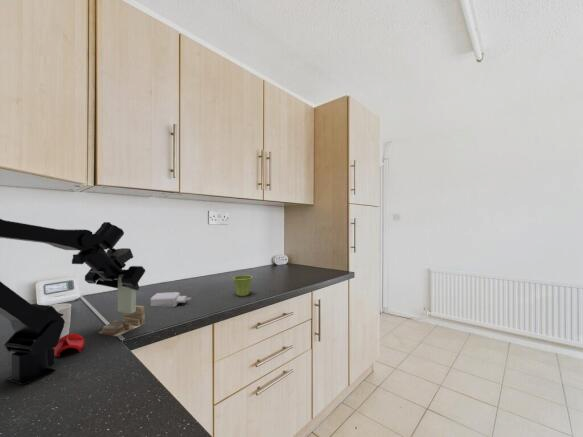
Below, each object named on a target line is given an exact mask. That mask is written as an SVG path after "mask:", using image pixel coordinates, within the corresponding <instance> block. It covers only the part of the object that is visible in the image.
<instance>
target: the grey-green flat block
mask: <svg viewBox="0 0 583 437" xmlns="http://www.w3.org/2000/svg"><path fill="white" fill-rule="evenodd" d="M128 269H129V268H128ZM128 269H126V268H122V270H128ZM121 278H122V277H119V278H118V289H117V312H119V313H123V314H124V313H134V312H136V305H137V290H133V289H130V288H126V287H123V286H122V285H123V283H121Z"/></svg>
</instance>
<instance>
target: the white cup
mask: <svg viewBox="0 0 583 437" xmlns="http://www.w3.org/2000/svg"><path fill="white" fill-rule="evenodd" d="M48 306H52V307H53V308H55V310H56V311H57V312H58V313H60V314H63V316H61V317H62V318H63V319H64V321H65V323H64V328H63V330H62V332H61V335H60V338H59V339H61V338H62V337H64V336H66V335H69V334H70V326H71V317H72V316H71V315H72V314H71V312H72V304H71V303H57V304H55V303H54V304H51V305H49V304H48Z"/></svg>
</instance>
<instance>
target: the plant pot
mask: <svg viewBox="0 0 583 437" xmlns="http://www.w3.org/2000/svg"><path fill="white" fill-rule="evenodd" d="M232 279H233V280H234V285H235V294H236V296H240V297H247V296H248V295H250V290H251V283H252V279H253V276H252V275H248V274H247V275H246V274H244V275H243V274H242V275H235V276H233V277H232Z"/></svg>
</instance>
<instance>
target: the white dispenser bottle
mask: <svg viewBox="0 0 583 437" xmlns="http://www.w3.org/2000/svg"><path fill="white" fill-rule="evenodd" d="M191 299H192V297H188V296H187V295H181V292H177V291H174V292H156V293H155V294H154V295H153V296H152V297H150V307H163V308H164V307H165V308H175V307H177V305H179V304H180V303H183V304H184V303H185V304H186V303H187V301H188V300H191Z"/></svg>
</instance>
